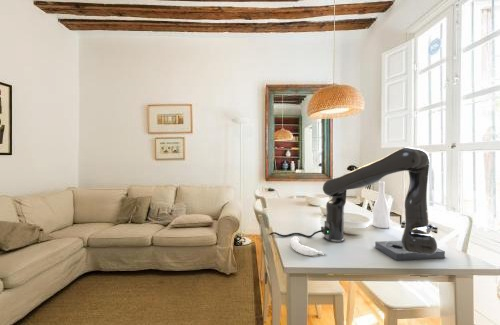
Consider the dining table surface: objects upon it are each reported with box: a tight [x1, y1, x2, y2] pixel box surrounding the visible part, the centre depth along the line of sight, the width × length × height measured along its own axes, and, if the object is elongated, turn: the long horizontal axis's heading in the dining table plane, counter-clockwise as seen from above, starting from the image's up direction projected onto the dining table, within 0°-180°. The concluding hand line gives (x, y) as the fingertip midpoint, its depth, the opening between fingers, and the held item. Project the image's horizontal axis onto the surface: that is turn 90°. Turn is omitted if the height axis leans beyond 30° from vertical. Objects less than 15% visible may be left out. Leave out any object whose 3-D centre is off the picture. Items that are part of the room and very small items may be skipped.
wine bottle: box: [372, 180, 391, 229], centre depth 148 cm, size 10×10×30 cm
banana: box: [290, 236, 325, 256], centre depth 111 cm, size 5×19×15 cm
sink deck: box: [374, 240, 446, 261], centre depth 108 cm, size 24×14×3 cm, turn 97°
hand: (418, 222), depth 110 cm, fingers closed on plug, 4 cm apart
